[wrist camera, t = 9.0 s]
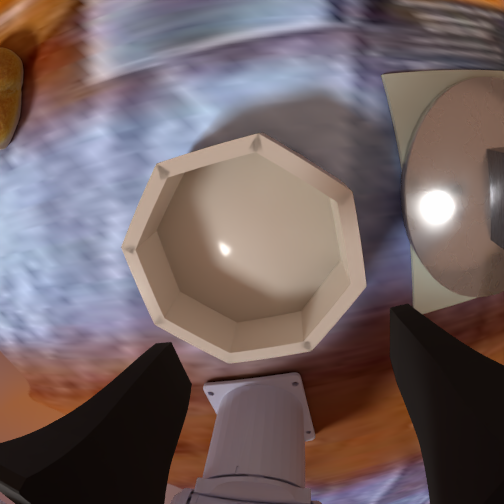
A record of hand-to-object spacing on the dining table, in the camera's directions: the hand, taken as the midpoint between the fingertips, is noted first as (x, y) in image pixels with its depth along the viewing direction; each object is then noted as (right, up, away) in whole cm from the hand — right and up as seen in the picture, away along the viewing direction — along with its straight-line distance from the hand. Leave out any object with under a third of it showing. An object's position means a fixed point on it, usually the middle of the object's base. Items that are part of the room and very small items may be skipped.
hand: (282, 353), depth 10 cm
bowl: (-1, +4, +10) cm, 11 cm away
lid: (+15, +7, +6) cm, 18 cm away
